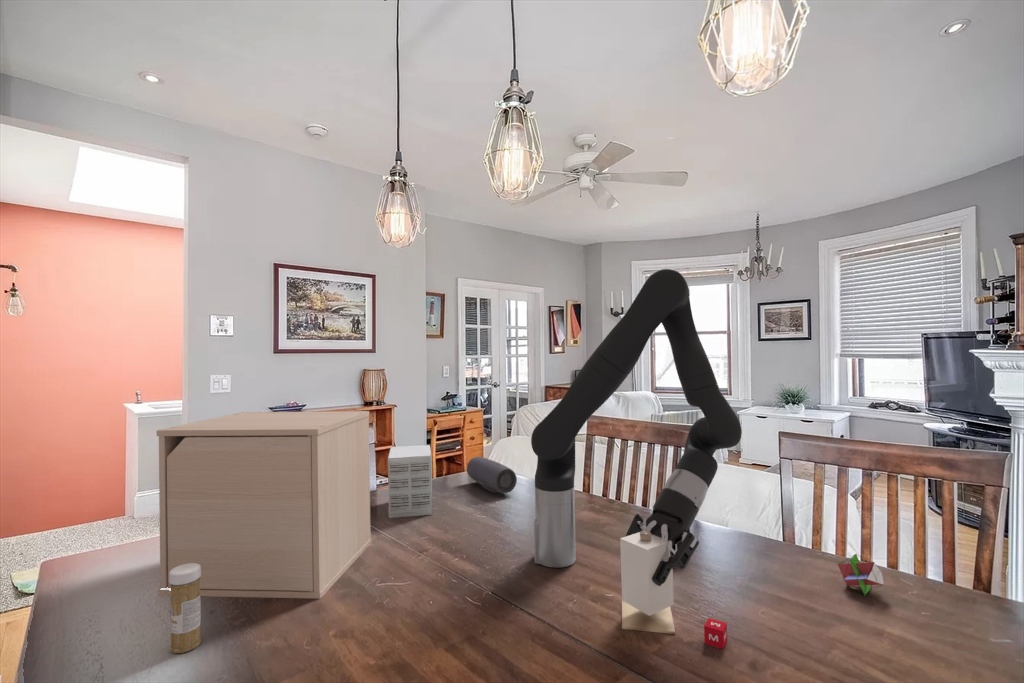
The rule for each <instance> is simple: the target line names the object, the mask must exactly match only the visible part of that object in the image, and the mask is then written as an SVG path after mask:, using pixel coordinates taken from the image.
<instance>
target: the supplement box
mask: <svg viewBox="0 0 1024 683" xmlns="http://www.w3.org/2000/svg"><path fill="white" fill-rule="evenodd" d="M432 463H433V460H432V449H431V445H430V444H423V445H418V444H417V445H405V446H404V445H403V446H391V447H390V448H389V453H388V457H387V473H388V474H387V475H388V476H387V478H388V479H387V480H388V518H389V519H394V518H406V517H420V516H432V515H433V510H432V508H433V507H432V506H433V505H432V504H433V496H432V495H433V493H432V492H433V491H432V489H433V483H432V482H433V478H432V477H433V474H432V472H433V470H432V468H433V467H432Z"/></svg>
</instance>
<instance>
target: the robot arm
mask: <svg viewBox="0 0 1024 683" xmlns="http://www.w3.org/2000/svg"><path fill="white" fill-rule="evenodd" d="M690 299H691V298H690V288H689V285H688V282H687V281H686V278H685V277H684V275H683V274H682V273H681V272H679V271H677V270H676V269H673V268H662V269H660V270H657V271H655V272H653V273H652V274H651V275H649V277H648V278H647V279H646V280H645V282H644V284H643V285H642V287H641V288H640V290H639V292H638V293H637V295H636V297H635V298H634V300H633V302H632V303H631V305H630V306H629V308H628V309H627V311H626V312H625V313H624V315H623V316H622V317H621V319H620V320H619V321H618V322H617V323H616V325H615V326H614V327H613V328H612V329H611V330H610V331H609V333H607V335H606V337H604V339H603V340H602V341H601V342H600V344H599V345H598V346H597V347H596V348H595V350H594V351H593V353H591V355H590V356H589V358H588V359H587V360H586V362H585V363H584V364H583V366H582V367H581V369H580V370H579V372H578V373H577V375H576V376H575V378H574V379H573V381H572V383H571V384H570V386H569V388H568V389H567V391H566V392H565V394H564V395H563V397H562V398H561V400H560V401H559V402H558V403H557V405H556V406H555V407H554V408H553V409H552V410H551V411H550V412H549V413H548V414H547V415H546V416H545V417H544V418H543V419H542V420H541V422H539V423H538V424H537V425H536V426H535V427H534V429H533V431H532V432H531V437H530V438H531V439H530V444H531V449H532V450H533V453H534V454H535V455H536V456H537V461H536V462H537V464H536V470H535V474H534V497H535V498H534V499H535V502H534V504H535V519H534V521H533V536H534V539H533V543H534V544H533V545H534V546H533V547H534V551H533V552H534V564H538V565H540V566H541V565H542V566H544V567H547V568H556V569H558V568H565V567H569V566H572V565H574V564H575V563H576V561H577V557H576V556H577V555H576V553H577V551H576V514H575V512H576V510H575V509H576V508H575V507H576V506H575V503H576V502H575V500H576V499H575V476H576V437H577V436H578V434H579V432H580V430H581V429H582V427H584V425H585V423H586V422H587V421H588V420H589V418H591V417H592V415H593V414H594V413H595V412H596V411H597V410H599V408H601V406H603V404H605V402H607V401H608V399H609V398H610V397H611V396H612V395H613V394H614V393H615V392H616V391H617V390H618V389H619V387H620V386H621V385H622V384H623V383H624V381H625V379H627V378H628V376H629V374H631V372H632V370H633V369H634V367H635V366H636V364H637V363H638V360H639V359H640V357H641V354H642V353H643V351H644V349H645V347H646V344H647V343H648V341H649V339H650V337H651V336H652V335H653V333H654V332H655V331H656V329H658V327H659V326H660V325H661V324H662V326H663V329H664V331H665V333H666V335H667V338H668V342H669V345H670V348H671V352H672V356H673V362H674V366H675V370H676V372H677V376H678V379H679V382H680V384H681V389H682V391H683V394H684V396H685V399H686V402H687V404H688V405H689V406H691V407H694V408H696V407H697V408H699V409H700V410H701V412H702V414H703V416H704V417H701V418H698V419H697V420H696V421H695V422H694V423H693V424H692V425H691V427H690V428H689V431H688V434H687V438H686V441H685V444H684V449H683V454H682V455H681V458H680V459H679V461H678V463H677V464H676V466H675V468H674V470H673V472H672V473H671V474H670V475H669V477H668V479H667V480H666V482H665V484H664V486H663V488H662V489H661V491H660V493H659V495H658V496H657V499H655V502H654V504H653V505H652V513H651V515H649V517H647V518H645V517H642V516H641V515H640V514H639V513H636V514H635V515H634V517H633V519H632V521H631V523H630V526H629V528H628V530H627V532H626V534H625V536H624V537H626V536H629V535H632V534H635V533H639V532H642V531H648V532H650V533H651V534H653V535H655V536H658V537H660V538H662V541H665V542H667V545H666V551H665V553H664V555H663V561H660V563H659V565H658V567H657V569H656V571H655V573H654V575H653V577H652V581H653V582H654V583H655V584H656V585H658V586H661V585H662V584H663V583H664V582H665V581H666V579H667V577H668V575H669V573H670V571H671V569H673V570H674V568H679V569H681V570H683V569H685V568H686V566H687V565H688V563H689V561H690V560H691V558H692V556H693V554H694V552H695V551H696V549H697V548H698V546H699V544H700V541H699V539H697V537H696V536H695V535H694V534H693V533H692V532H690V533H686V531H687V530H689V529H690V530H691V527H692V525H693V524H694V521H695V519H696V517H697V515H698V513H699V511H700V509H701V507H702V505H703V503H704V501H705V499H706V496H707V492H708V490H709V488H710V487H711V486H710V485H711V484H712V482H713V480H714V478H715V476H716V474H717V471H718V462H717V460H716V458H715V457H714V454H715V452H716V451H717V450H723V449H730V448H733V447H736V446H737V445H738V444H739V443H740V441H741V438H742V426H741V423H740V419H739V417H738V416H737V414H736V412H735V411H734V410H733V408H732V406H731V405H730V403H729V401H728V400H727V398H726V397H725V395H724V394H723V393H722V392H721V391H720V388H719V384H718V382H717V379H716V378H717V377H715V374H714V371H713V368H712V365H711V363H710V360H709V357H708V355H707V353H706V351H705V348H704V347H703V344H702V342H701V340H700V337H699V334H698V330H697V328H696V325H695V321H694V318H693V312H692V305H691V300H690ZM669 540H670V541H672V547H671V546H670V544H669V543H668V542H669ZM680 541H682V543H681V545H680V546H679V548H678V550H677V543H679V542H680ZM670 553H671V557H670Z"/></svg>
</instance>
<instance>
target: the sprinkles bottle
mask: <svg viewBox="0 0 1024 683" xmlns="http://www.w3.org/2000/svg"><path fill="white" fill-rule="evenodd" d="M200 576H201V566H200V565H199V564H197V563H189V564H184V565H180V566H177V567H175V568H173V569H172V570H171V571H170V573H169V583H170V586H171V596H170V604H169V605H170V615H169V616H170V624H169V626H170V627H169V628H170V629H169V630H170V646H169V650H170V652H171V653H173V654H183V653H186V652H189V651H193V650H194V649H196V648H197V647H199V645H201V642H202V638H201V620H202V618H201V616H202V615H201V612H202V611H201V609H202V608H201V596H200Z"/></svg>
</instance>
